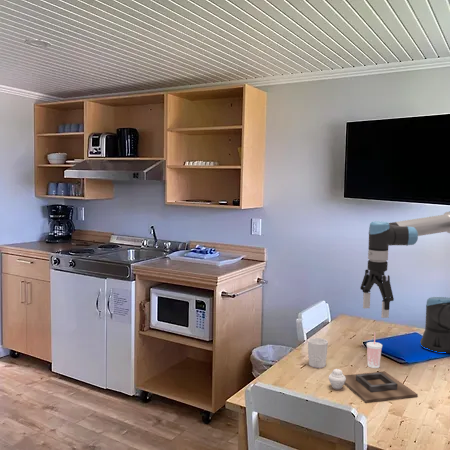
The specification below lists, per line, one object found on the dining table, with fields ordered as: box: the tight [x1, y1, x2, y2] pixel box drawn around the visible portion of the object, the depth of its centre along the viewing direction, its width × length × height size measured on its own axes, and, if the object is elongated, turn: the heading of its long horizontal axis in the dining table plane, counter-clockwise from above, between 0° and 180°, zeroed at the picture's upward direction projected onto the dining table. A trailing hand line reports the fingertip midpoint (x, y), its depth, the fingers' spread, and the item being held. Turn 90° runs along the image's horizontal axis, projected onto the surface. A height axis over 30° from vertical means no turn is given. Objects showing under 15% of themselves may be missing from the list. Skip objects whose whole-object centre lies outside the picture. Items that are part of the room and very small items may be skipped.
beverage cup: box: [366, 331, 383, 369], centre depth 188 cm, size 6×6×14 cm
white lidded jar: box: [328, 368, 346, 390], centre depth 168 cm, size 6×6×7 cm
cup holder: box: [343, 370, 419, 404], centre depth 169 cm, size 20×20×3 cm
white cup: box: [307, 337, 328, 369], centre depth 189 cm, size 8×8×10 cm
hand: (375, 312), depth 187 cm, fingers open, 13 cm apart
